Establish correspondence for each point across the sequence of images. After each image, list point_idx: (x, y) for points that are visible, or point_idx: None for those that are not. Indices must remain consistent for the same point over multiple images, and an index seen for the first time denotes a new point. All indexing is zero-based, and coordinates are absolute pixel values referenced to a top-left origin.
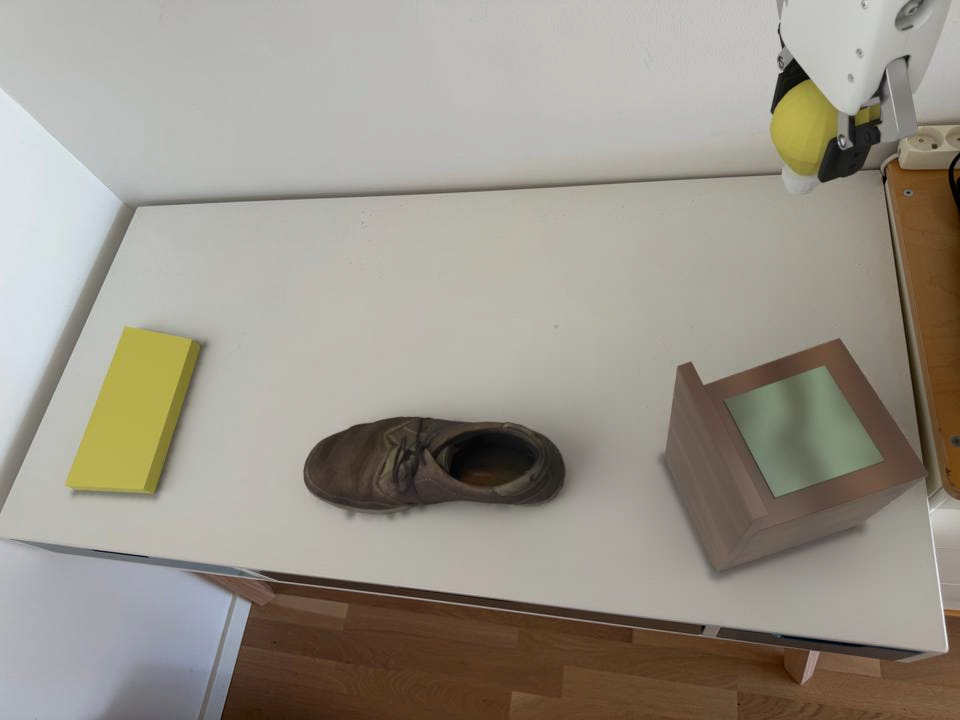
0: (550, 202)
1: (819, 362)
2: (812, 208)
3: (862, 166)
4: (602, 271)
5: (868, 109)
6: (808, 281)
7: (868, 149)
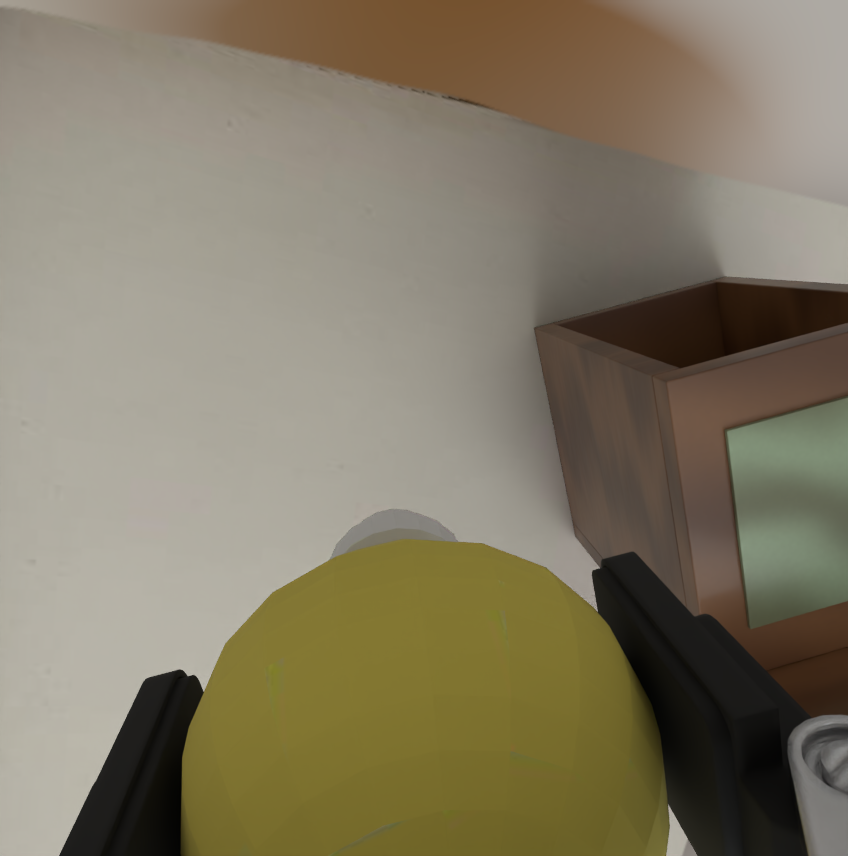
0: (10, 694)
1: (714, 437)
2: (62, 177)
3: (634, 554)
4: (198, 607)
5: (521, 658)
6: (261, 236)
7: (790, 698)
